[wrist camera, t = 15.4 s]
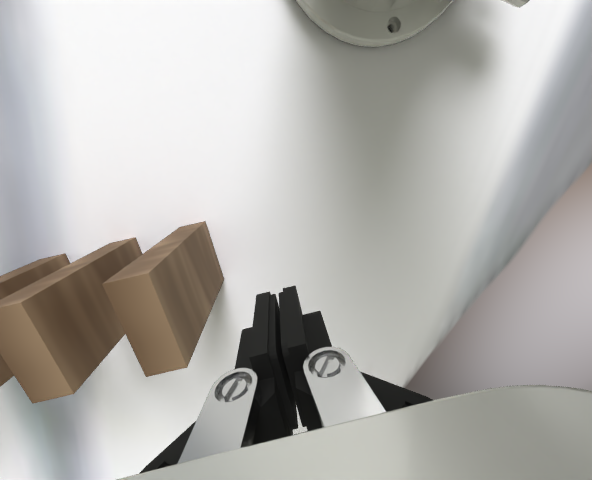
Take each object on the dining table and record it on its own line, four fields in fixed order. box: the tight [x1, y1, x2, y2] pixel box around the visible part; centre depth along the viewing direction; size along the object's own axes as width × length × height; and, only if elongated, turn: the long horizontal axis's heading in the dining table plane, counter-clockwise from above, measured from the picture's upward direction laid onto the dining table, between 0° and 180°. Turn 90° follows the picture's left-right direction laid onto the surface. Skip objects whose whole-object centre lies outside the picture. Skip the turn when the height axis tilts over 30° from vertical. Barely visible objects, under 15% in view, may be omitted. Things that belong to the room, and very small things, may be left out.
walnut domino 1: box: [0, 254, 70, 387], centre depth 17 cm, size 2×5×10 cm, turn 12°
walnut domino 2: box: [0, 238, 142, 403], centre depth 17 cm, size 2×5×10 cm, turn 12°
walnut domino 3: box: [102, 221, 224, 377], centre depth 17 cm, size 2×5×10 cm, turn 12°
